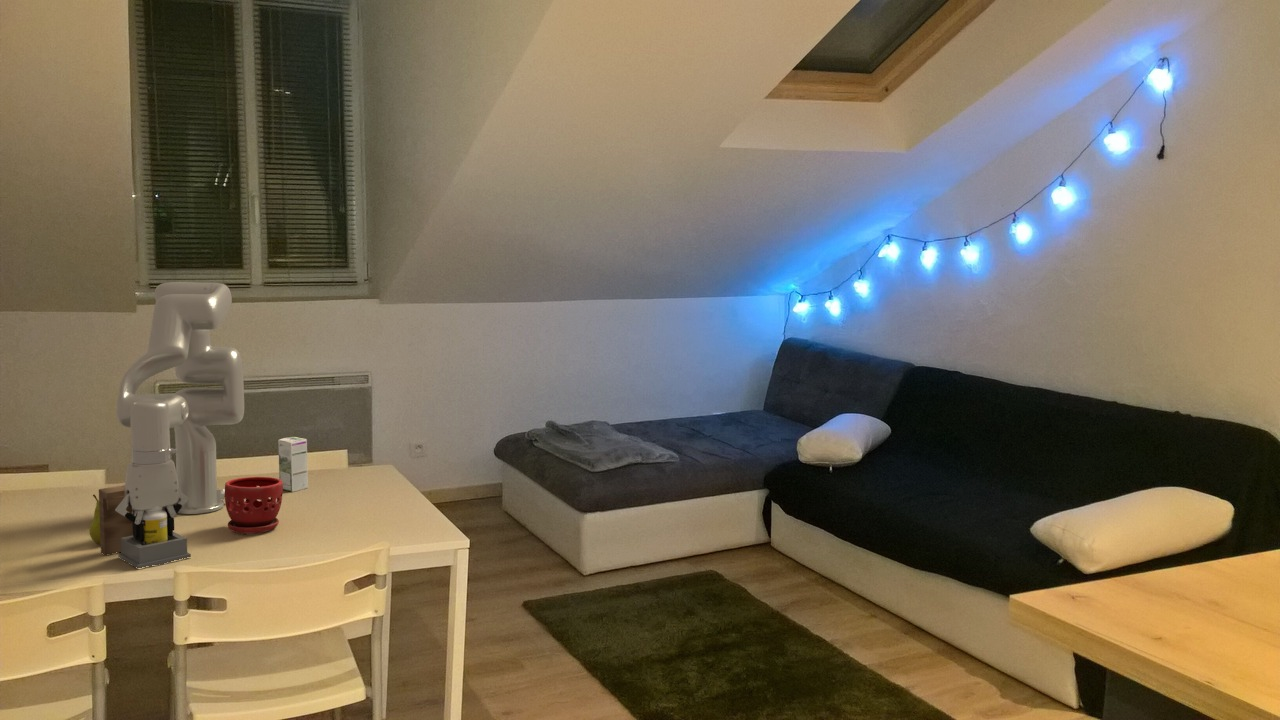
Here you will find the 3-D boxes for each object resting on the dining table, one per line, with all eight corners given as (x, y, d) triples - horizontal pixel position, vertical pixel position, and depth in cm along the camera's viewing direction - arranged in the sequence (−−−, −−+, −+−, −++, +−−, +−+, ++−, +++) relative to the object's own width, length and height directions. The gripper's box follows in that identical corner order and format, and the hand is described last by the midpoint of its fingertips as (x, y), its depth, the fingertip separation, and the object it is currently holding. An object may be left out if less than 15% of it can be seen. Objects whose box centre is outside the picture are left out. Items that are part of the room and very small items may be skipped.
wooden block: (165, 540, 227) (163, 478, 226) (175, 545, 224) (173, 483, 222) (101, 553, 217) (98, 489, 215) (110, 558, 213) (107, 493, 212)
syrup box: (308, 488, 277) (308, 438, 276) (291, 492, 272) (290, 441, 271) (295, 485, 280) (295, 435, 279) (278, 489, 275) (277, 439, 274)
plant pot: (277, 536, 233) (276, 487, 231) (219, 537, 230) (218, 488, 229) (288, 520, 245) (287, 474, 244) (233, 521, 243) (232, 475, 242)
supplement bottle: (134, 548, 212) (133, 504, 211) (152, 540, 218) (150, 498, 216) (156, 550, 211) (155, 506, 210) (173, 543, 216) (172, 500, 215)
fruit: (123, 540, 227) (121, 489, 225) (110, 547, 221) (108, 496, 219) (98, 539, 226) (95, 489, 225) (84, 547, 221) (82, 495, 219)
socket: (169, 547, 222) (169, 527, 222) (190, 558, 215) (190, 538, 215) (118, 557, 214) (117, 537, 214) (138, 569, 207) (137, 549, 206)
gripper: (183, 448, 221) (186, 526, 223) (102, 459, 208) (105, 541, 210) (198, 453, 216) (200, 533, 218) (115, 465, 203) (119, 549, 205)
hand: (154, 536), depth 214 cm, fingers closed on supplement bottle, 5 cm apart
